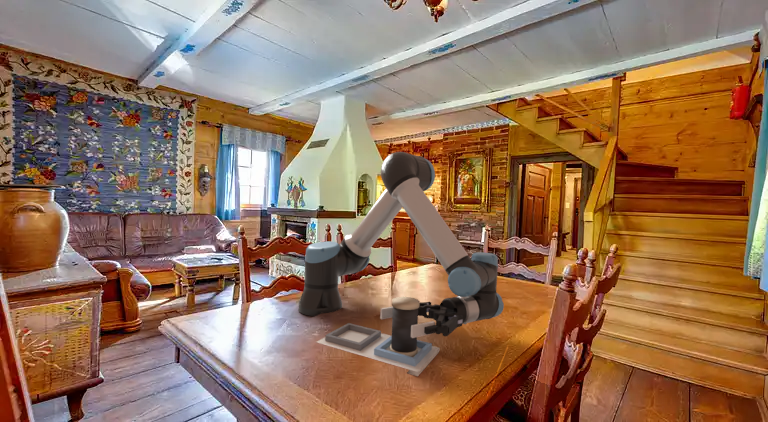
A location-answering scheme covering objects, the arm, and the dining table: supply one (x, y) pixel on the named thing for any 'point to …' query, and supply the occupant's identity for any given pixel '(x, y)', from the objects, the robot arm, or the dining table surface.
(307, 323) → the dining table surface
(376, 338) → the grey flat tray
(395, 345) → the cable spool
